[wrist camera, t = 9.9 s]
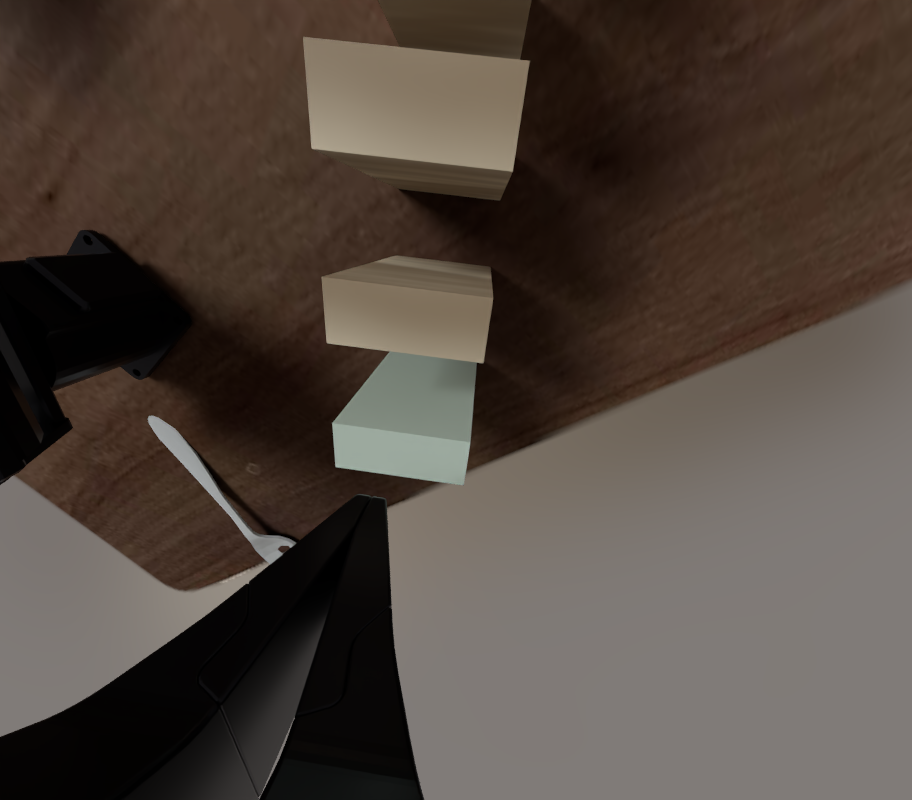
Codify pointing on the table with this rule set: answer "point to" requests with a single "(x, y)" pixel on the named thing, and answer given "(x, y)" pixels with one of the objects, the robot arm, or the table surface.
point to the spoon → (215, 489)
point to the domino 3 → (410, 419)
